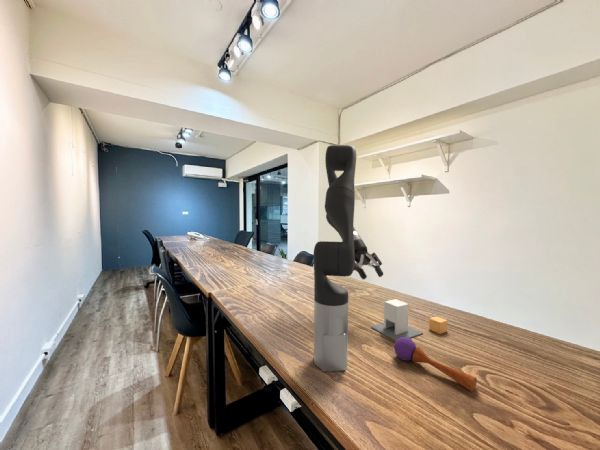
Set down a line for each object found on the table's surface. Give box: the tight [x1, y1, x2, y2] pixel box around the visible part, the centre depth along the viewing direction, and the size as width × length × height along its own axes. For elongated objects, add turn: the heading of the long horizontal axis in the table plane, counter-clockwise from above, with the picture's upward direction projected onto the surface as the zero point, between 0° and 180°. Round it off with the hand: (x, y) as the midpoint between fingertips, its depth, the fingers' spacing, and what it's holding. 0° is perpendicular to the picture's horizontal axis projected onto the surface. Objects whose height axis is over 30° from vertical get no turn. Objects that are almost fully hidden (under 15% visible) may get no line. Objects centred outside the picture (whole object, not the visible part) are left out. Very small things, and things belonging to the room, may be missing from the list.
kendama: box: [393, 337, 478, 393], centre depth 68 cm, size 6×6×20 cm
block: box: [428, 316, 448, 335], centre depth 90 cm, size 4×4×4 cm
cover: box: [383, 298, 410, 335], centre depth 90 cm, size 6×6×10 cm
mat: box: [370, 322, 423, 342], centre depth 90 cm, size 12×12×1 cm
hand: (373, 277), depth 99 cm, fingers open, 8 cm apart
